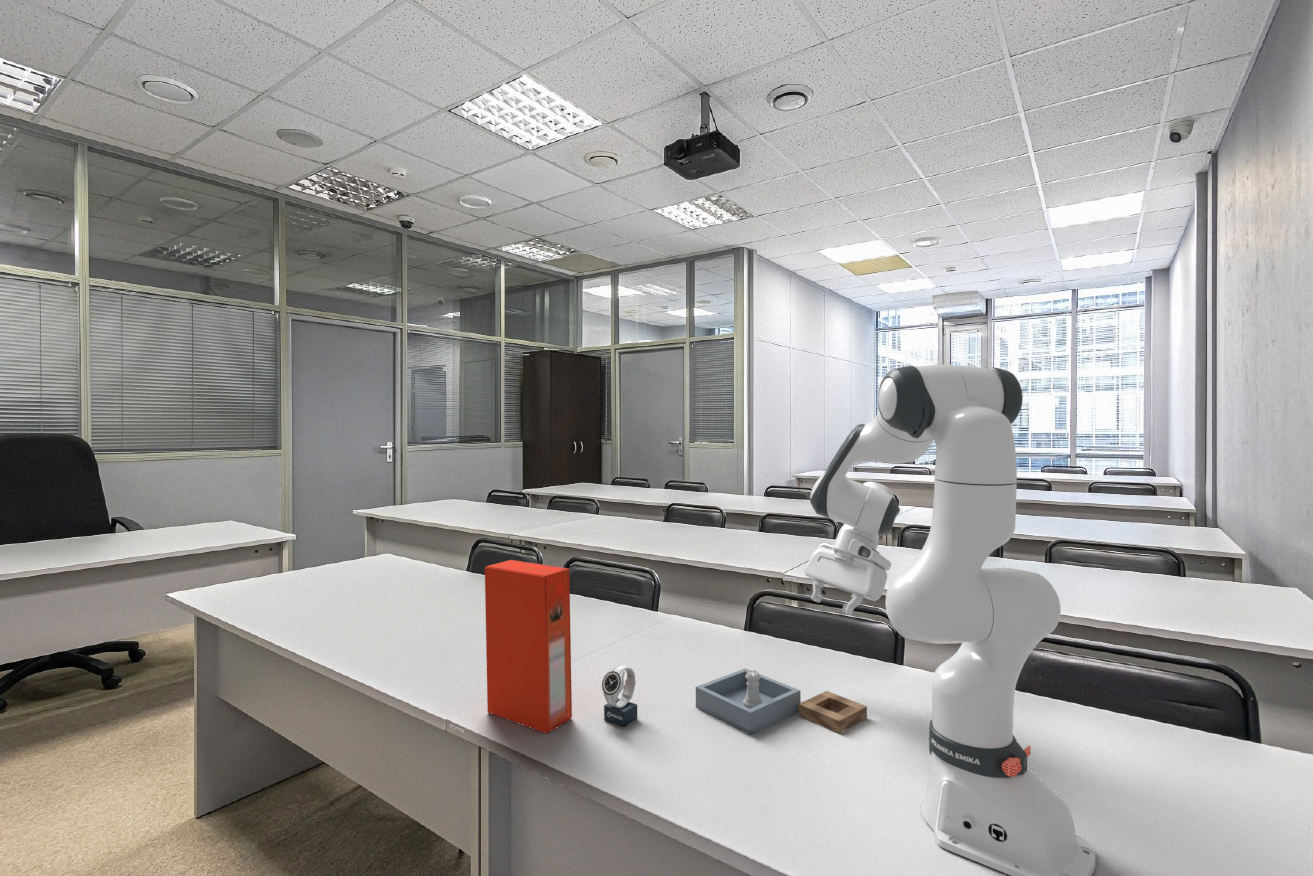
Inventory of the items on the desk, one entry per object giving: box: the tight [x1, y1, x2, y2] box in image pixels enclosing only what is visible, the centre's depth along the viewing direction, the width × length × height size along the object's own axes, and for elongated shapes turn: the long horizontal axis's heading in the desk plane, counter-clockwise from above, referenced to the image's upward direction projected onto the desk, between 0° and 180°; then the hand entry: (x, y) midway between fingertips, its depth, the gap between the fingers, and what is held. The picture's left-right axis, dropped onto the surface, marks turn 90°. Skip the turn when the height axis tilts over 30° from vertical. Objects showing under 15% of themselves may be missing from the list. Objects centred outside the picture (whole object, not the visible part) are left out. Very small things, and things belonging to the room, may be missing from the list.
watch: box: [601, 664, 638, 728], centre depth 127 cm, size 6×8×11 cm
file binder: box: [484, 559, 573, 734], centre depth 129 cm, size 8×17×32 cm, turn 57°
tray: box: [695, 668, 802, 736], centre depth 131 cm, size 16×16×4 cm
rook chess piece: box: [743, 669, 763, 709], centre depth 129 cm, size 4×4×8 cm
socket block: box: [798, 690, 868, 734], centre depth 128 cm, size 10×10×2 cm
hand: (830, 606), depth 135 cm, fingers open, 8 cm apart
